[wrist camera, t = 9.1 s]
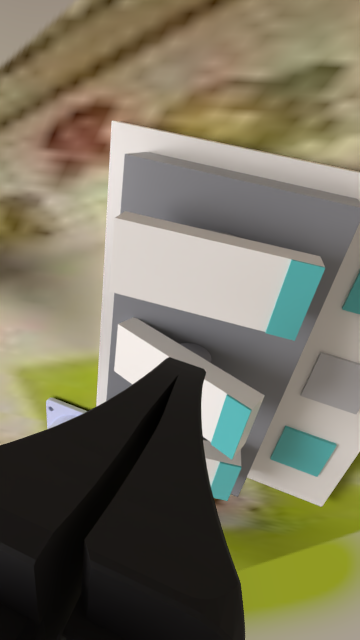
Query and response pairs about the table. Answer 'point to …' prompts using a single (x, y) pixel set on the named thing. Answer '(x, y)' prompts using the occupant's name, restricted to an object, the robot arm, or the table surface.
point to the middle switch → (217, 392)
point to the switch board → (321, 334)
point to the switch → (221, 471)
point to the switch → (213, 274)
